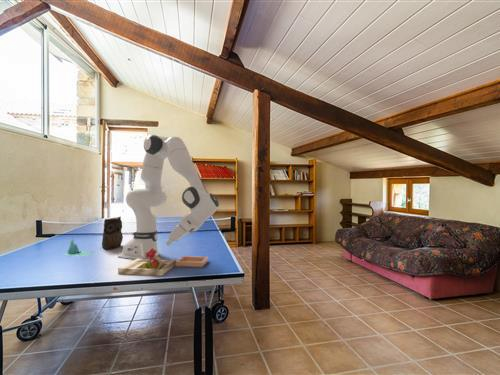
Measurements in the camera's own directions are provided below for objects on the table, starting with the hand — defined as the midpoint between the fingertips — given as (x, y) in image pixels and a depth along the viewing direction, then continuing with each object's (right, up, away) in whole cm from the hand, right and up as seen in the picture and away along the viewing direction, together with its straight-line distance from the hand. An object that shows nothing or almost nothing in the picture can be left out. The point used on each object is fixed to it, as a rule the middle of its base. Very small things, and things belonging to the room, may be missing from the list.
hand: (171, 242), depth 127 cm
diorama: (-65, -14, +32) cm, 74 cm away
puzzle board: (-12, -14, +4) cm, 19 cm away
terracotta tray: (+7, -14, +13) cm, 21 cm away
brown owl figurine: (-55, -14, +49) cm, 75 cm away
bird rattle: (-9, -14, +1) cm, 17 cm away
